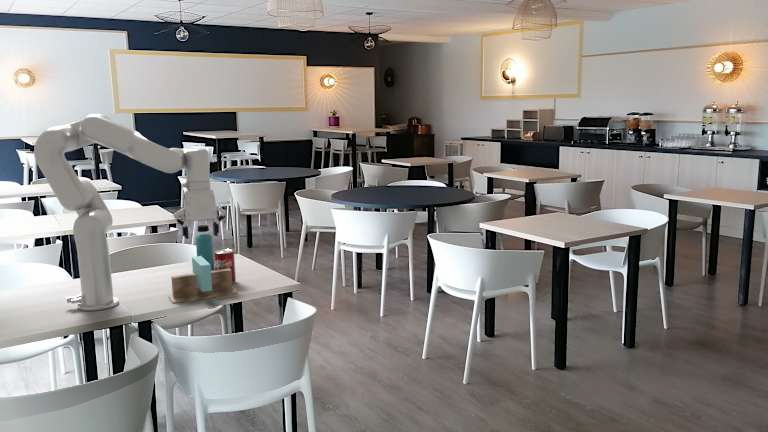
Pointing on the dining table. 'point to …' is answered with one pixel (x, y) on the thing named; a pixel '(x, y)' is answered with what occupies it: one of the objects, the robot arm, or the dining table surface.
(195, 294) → the walnut slotted stand
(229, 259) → the soda can
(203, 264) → the teal rectangular block
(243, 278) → the dining table surface
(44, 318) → the dining table surface
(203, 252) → the beverage bottle
